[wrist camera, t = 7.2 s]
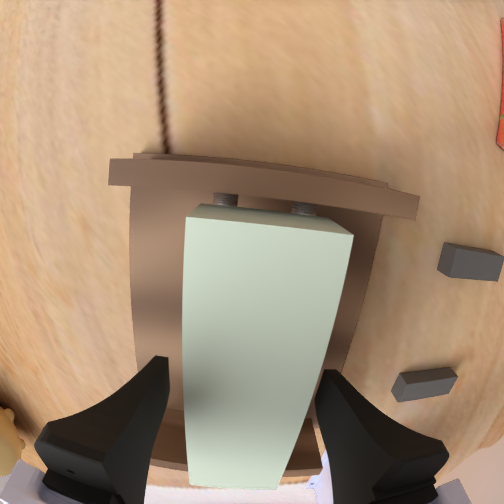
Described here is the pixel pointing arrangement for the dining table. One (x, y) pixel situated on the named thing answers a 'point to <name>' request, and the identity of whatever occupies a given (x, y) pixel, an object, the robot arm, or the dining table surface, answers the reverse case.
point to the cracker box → (503, 129)
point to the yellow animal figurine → (9, 442)
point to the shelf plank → (254, 336)
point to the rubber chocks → (455, 266)
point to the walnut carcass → (172, 259)
